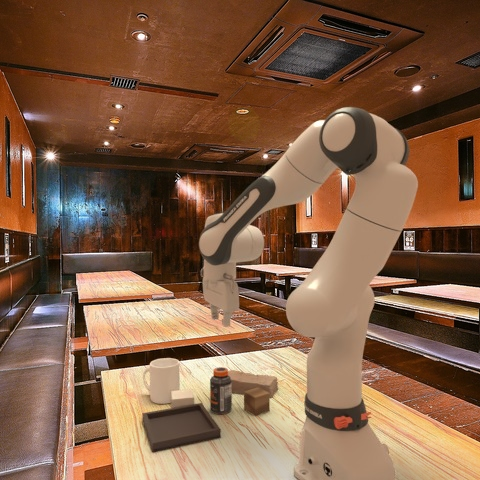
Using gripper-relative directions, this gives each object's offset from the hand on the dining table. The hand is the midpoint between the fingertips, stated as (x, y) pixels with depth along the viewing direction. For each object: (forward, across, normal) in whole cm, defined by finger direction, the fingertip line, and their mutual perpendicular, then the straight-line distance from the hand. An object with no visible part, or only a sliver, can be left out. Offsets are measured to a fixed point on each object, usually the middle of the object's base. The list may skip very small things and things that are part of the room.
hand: (220, 322), depth 107 cm
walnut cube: (+24, -4, -9) cm, 26 cm away
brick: (+25, +10, -13) cm, 29 cm away
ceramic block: (+24, +6, +9) cm, 27 cm away
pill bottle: (+24, 0, 0) cm, 24 cm away
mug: (+24, +15, +14) cm, 32 cm away
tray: (+24, -6, +13) cm, 28 cm away
